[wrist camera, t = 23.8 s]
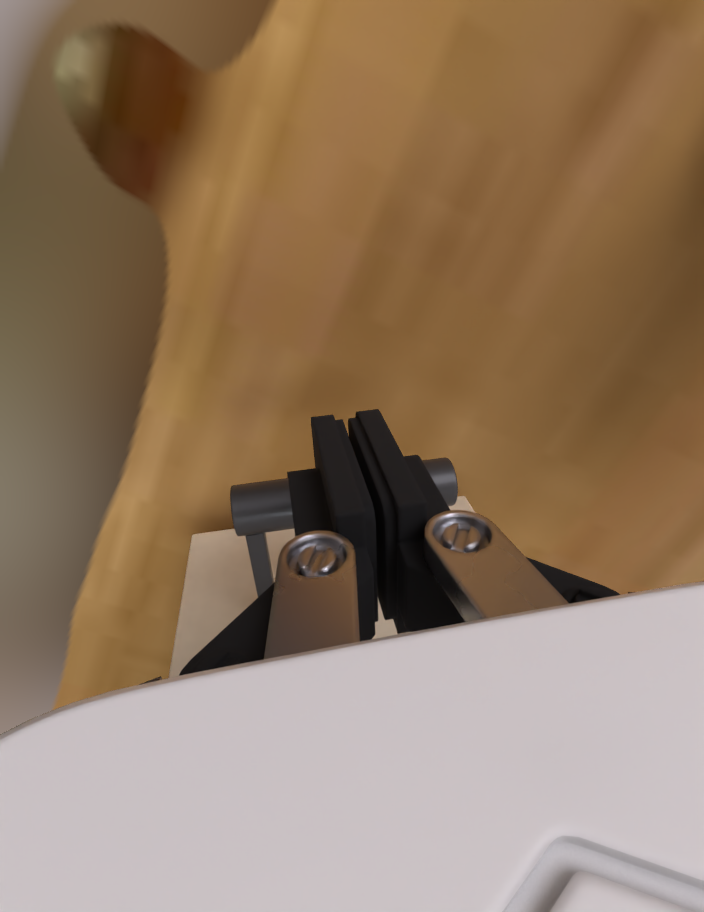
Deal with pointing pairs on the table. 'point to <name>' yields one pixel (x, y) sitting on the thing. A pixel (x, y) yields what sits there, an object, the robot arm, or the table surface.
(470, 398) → the table surface
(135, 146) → the table surface
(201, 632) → the drawer
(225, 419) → the table surface
